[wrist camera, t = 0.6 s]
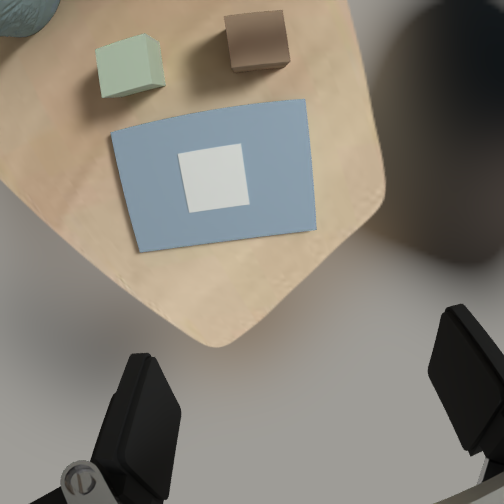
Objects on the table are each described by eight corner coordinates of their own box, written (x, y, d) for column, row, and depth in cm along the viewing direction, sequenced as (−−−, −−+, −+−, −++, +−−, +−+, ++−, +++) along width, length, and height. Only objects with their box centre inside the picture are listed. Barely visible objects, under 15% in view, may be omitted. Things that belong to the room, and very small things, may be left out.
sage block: (115, 54, 27) (95, 49, 22) (159, 42, 27) (145, 33, 22) (121, 97, 29) (101, 97, 25) (165, 85, 29) (152, 83, 24)
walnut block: (227, 28, 26) (223, 16, 22) (277, 23, 26) (282, 10, 22) (234, 73, 29) (231, 67, 24) (284, 67, 28) (290, 61, 24)
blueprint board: (114, 131, 31) (110, 132, 30) (303, 99, 30) (305, 98, 29) (142, 248, 37) (139, 252, 36) (314, 226, 36) (316, 230, 35)
